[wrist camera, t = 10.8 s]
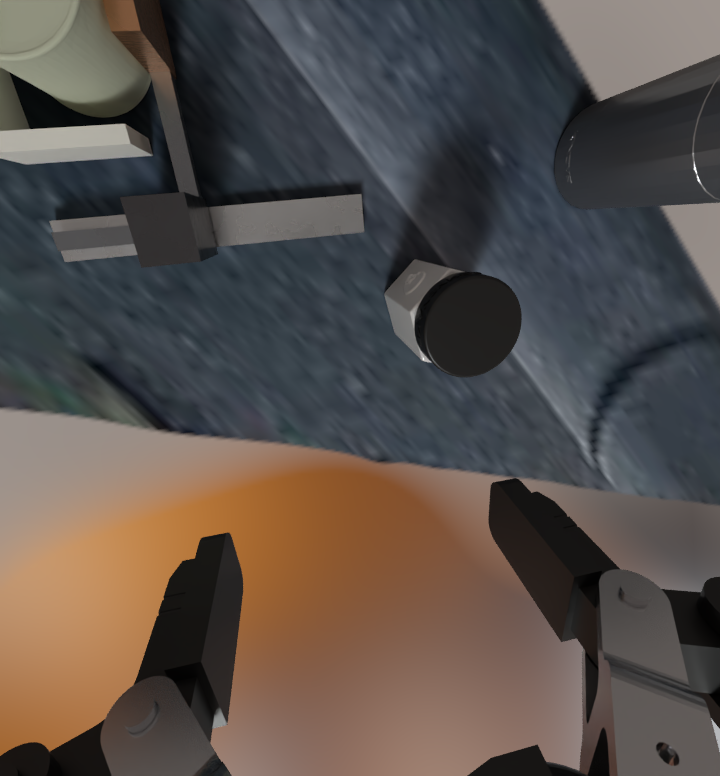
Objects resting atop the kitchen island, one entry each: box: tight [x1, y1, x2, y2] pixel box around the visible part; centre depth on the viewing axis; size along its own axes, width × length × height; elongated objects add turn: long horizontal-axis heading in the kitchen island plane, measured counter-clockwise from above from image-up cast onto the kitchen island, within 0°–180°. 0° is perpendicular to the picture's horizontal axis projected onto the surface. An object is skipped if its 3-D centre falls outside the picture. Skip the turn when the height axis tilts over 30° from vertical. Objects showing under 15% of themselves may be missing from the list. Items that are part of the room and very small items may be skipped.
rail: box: [49, 194, 364, 262], centre depth 34 cm, size 26×3×1 cm, turn 95°
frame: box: [0, 67, 153, 164], centre depth 26 cm, size 10×14×5 cm, turn 5°
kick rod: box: [51, 0, 218, 268], centre depth 26 cm, size 12×18×8 cm
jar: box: [384, 259, 521, 377], centre depth 35 cm, size 9×8×12 cm
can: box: [0, 0, 151, 118], centre depth 23 cm, size 9×9×12 cm
